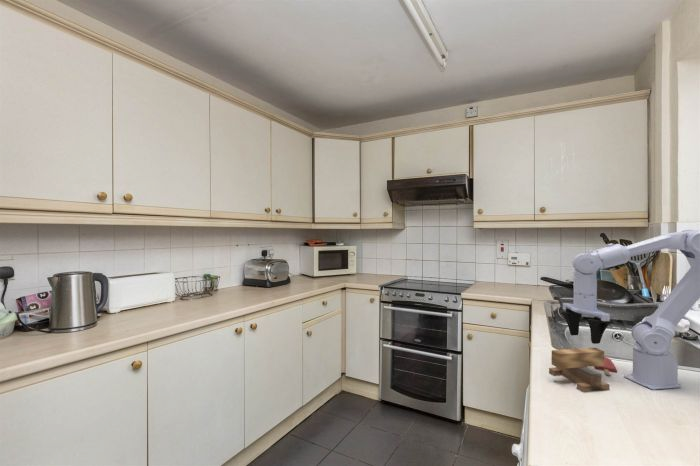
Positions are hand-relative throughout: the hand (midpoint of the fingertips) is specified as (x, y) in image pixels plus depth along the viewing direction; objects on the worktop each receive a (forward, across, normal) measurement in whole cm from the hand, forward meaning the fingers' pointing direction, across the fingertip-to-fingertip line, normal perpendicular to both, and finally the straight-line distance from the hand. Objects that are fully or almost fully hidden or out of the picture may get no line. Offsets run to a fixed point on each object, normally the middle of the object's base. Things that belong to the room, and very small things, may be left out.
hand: (584, 338), depth 100 cm
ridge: (+10, +5, -7) cm, 13 cm away
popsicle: (+11, -2, +9) cm, 14 cm away
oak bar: (+5, +5, -7) cm, 10 cm away
